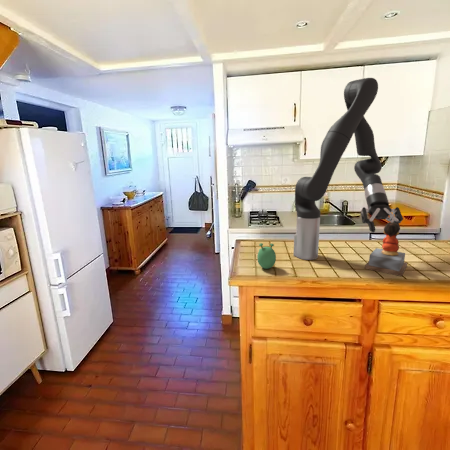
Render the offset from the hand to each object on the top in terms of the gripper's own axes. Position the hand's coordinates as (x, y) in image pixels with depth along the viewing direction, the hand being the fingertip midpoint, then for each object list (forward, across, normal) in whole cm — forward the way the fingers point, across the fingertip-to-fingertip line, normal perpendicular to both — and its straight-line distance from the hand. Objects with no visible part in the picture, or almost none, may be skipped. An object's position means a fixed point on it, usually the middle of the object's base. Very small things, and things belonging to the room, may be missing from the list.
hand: (385, 231), depth 109 cm
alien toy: (+14, -45, +5) cm, 47 cm away
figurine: (+8, +1, +3) cm, 9 cm away
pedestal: (+12, 0, +6) cm, 13 cm away
